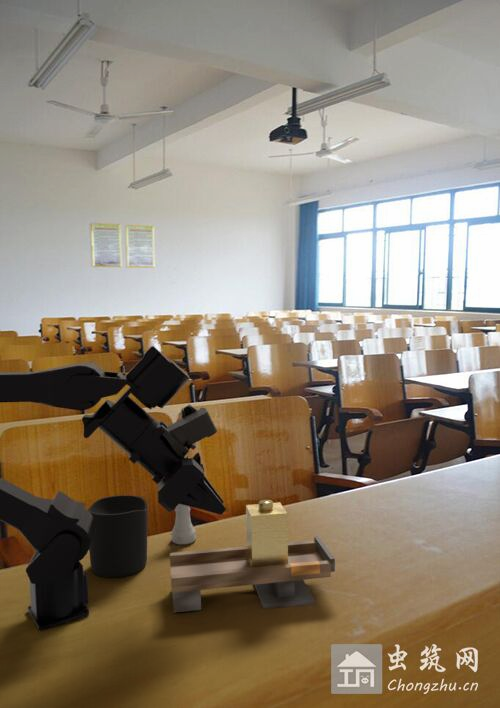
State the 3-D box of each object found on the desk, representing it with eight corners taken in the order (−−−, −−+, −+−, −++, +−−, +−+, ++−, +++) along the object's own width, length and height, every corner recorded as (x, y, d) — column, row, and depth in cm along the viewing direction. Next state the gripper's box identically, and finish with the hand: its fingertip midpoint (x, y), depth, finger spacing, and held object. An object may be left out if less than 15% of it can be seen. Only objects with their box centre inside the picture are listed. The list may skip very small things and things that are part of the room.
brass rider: (252, 573, 78) (250, 508, 77) (247, 559, 82) (245, 498, 82) (288, 569, 78) (287, 505, 78) (281, 556, 83) (279, 495, 82)
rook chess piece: (192, 546, 97) (190, 500, 97) (167, 544, 98) (165, 499, 98) (199, 536, 102) (198, 492, 101) (175, 535, 103) (174, 491, 102)
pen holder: (161, 564, 91) (159, 502, 90) (111, 586, 84) (108, 519, 83) (126, 549, 97) (123, 491, 96) (76, 568, 90) (74, 506, 89)
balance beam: (172, 618, 74) (171, 575, 74) (170, 586, 83) (169, 547, 82) (336, 601, 77) (335, 559, 77) (317, 572, 86) (317, 534, 86)
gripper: (183, 399, 68) (276, 484, 70) (177, 382, 86) (251, 449, 88) (117, 469, 67) (213, 552, 69) (126, 436, 85) (202, 503, 88)
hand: (222, 508), depth 79 cm, fingers open, 3 cm apart
